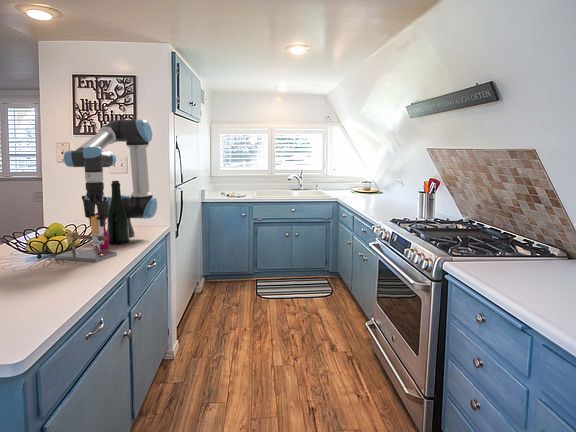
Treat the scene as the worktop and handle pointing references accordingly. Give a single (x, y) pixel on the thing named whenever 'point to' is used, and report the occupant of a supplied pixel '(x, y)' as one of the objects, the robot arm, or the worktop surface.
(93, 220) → the block
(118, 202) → the beer bottle
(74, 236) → the wooden rod with block
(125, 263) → the worktop surface
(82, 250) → the bolt plate
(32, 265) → the worktop surface
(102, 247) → the pepper mill
